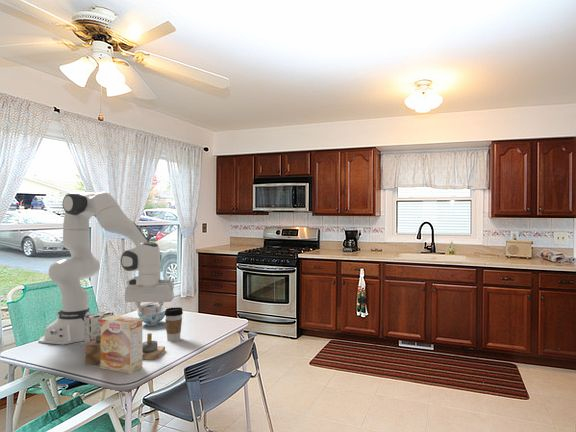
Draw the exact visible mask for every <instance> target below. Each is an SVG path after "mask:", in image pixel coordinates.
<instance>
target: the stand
mask: <svg viewBox="0 0 576 432" xmlns="http://www.w3.org/2000/svg"><path fill="white" fill-rule="evenodd" d="M84 365H85V366H87V365H89V366H91V365H93V366H96V365H97V366H101V335H97V336H96V339H94V340H92V341H90V342H89V343H87V344H85V347H84Z"/></svg>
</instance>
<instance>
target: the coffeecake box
mask: <svg viewBox="0 0 576 432" xmlns="http://www.w3.org/2000/svg"><path fill="white" fill-rule="evenodd" d="M142 343H143V321H142V319H141V318H139V317H133V316H131V317H130V316H125V315H118V314H117V315H116V314H113V315H112V316H108V317H105V318H102V319H101V365H100V367H99V369H104V370H108V371H114V372H119V373H123V374H124V373H125V374H129V375H131V374H133V373H134V372H136V371H138V370H140V369H142V368H143V359H142Z"/></svg>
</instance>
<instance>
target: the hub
mask: <svg viewBox="0 0 576 432" xmlns="http://www.w3.org/2000/svg"><path fill="white" fill-rule="evenodd" d="M152 335H153V333H151V332H149V333H147V334H146V341H142V360H158V359H159V358H160V356H162V354H163V353H164V352H165V351H166V346H164V345H158V341H157V340H153V339H152V337H153V336H152Z"/></svg>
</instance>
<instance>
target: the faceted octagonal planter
mask: <svg viewBox="0 0 576 432" xmlns="http://www.w3.org/2000/svg"><path fill="white" fill-rule="evenodd" d="M158 307H159V304H156V303H155V304H154V303H151V304H150V303H149V304H143V305H141V315H142V316H154V315H157V314H158V312H156V311H157V310H156V308H158Z"/></svg>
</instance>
